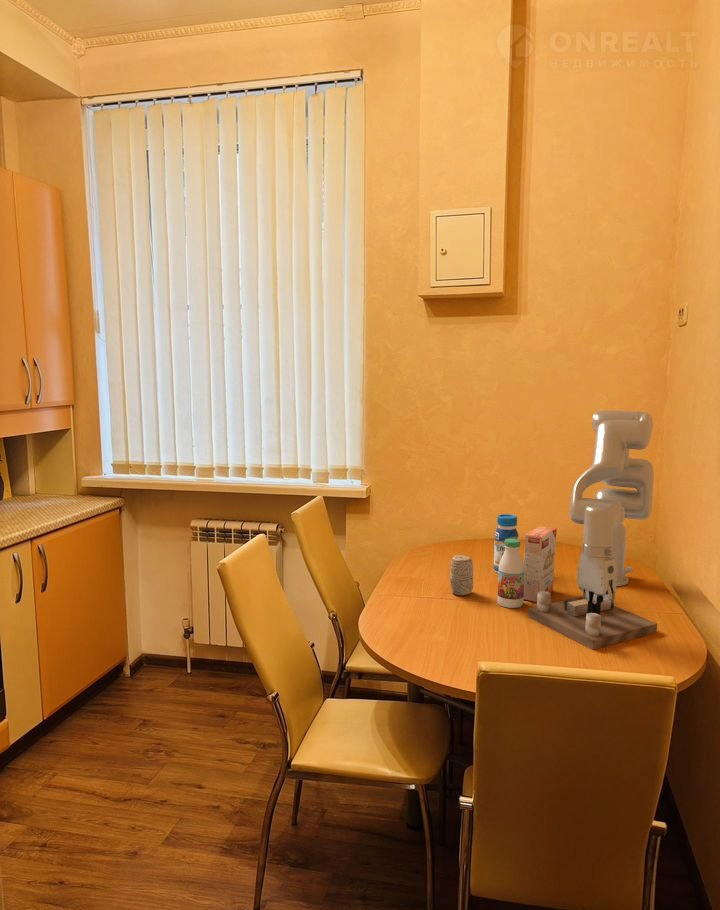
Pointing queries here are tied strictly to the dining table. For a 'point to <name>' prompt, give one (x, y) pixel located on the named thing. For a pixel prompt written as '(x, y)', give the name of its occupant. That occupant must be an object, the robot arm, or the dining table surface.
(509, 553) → the milk bottle
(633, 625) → the brown board with pegs
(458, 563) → the carving
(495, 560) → the beverage bottle
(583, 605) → the hinged leg
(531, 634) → the dining table surface
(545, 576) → the cracker box
